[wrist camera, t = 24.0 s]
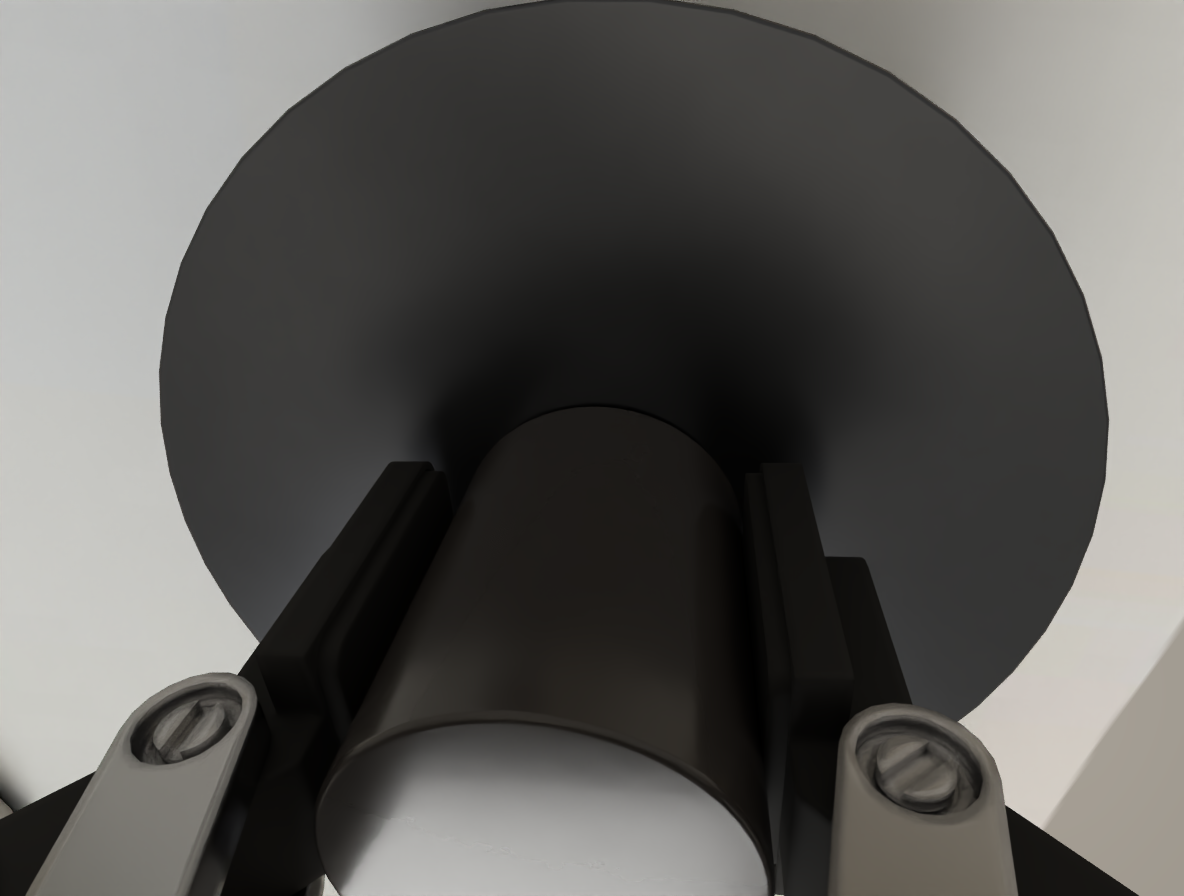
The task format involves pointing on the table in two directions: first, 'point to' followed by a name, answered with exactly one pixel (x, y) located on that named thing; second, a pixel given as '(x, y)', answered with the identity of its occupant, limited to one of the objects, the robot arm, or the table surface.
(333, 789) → the lid
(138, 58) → the table surface
